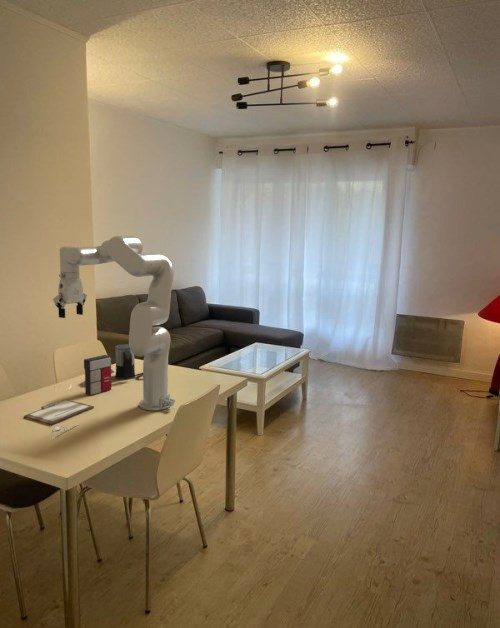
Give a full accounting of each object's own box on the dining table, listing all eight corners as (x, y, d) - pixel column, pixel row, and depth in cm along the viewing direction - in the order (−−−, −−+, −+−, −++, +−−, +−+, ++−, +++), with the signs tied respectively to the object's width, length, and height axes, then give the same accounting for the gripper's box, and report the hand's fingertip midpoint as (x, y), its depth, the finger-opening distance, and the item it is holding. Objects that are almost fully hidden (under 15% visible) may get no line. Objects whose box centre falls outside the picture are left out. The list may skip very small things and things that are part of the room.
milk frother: (111, 376, 226) (111, 345, 224) (141, 370, 237) (141, 341, 235) (126, 383, 216) (126, 351, 214) (156, 377, 227) (156, 346, 224)
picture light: (52, 440, 157) (52, 434, 156) (41, 438, 158) (41, 432, 158) (80, 425, 170) (80, 419, 170) (70, 423, 171) (69, 417, 171)
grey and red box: (90, 396, 198) (89, 361, 196) (84, 394, 201) (83, 359, 198) (112, 390, 207) (112, 356, 204) (106, 387, 209) (105, 354, 207)
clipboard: (93, 408, 185) (93, 403, 185) (51, 425, 167) (51, 420, 167) (67, 401, 191) (67, 397, 191) (24, 417, 174) (24, 413, 173)
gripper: (59, 278, 193) (61, 319, 196) (91, 275, 208) (92, 314, 211) (46, 276, 196) (48, 317, 199) (79, 274, 211) (80, 312, 214)
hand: (71, 316), depth 205 cm, fingers open, 9 cm apart
